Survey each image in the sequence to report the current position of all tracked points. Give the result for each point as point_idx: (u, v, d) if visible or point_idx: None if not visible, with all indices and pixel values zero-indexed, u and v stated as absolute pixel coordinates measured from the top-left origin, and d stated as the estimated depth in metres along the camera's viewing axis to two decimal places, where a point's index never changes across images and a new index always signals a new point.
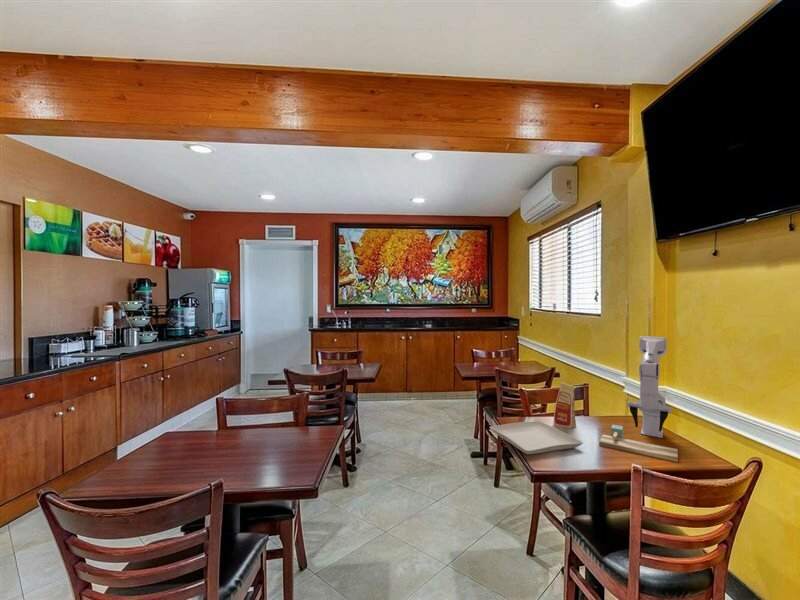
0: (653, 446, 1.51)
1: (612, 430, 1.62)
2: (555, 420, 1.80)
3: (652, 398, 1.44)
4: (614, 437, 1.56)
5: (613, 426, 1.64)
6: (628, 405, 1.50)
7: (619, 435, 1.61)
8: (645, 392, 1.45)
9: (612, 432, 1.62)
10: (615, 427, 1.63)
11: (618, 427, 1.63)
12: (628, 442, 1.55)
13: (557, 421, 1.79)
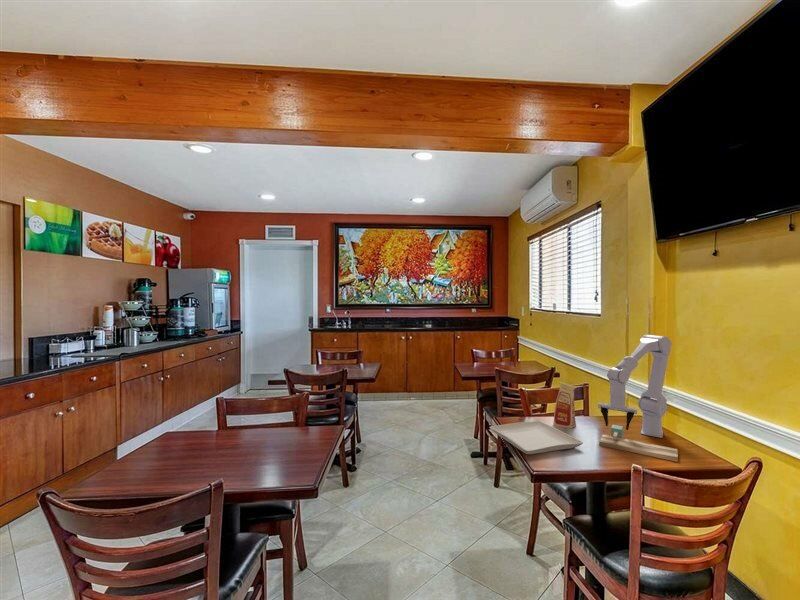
0: (653, 446, 1.51)
1: (612, 430, 1.62)
2: (555, 420, 1.80)
3: (620, 400, 1.60)
4: (614, 437, 1.56)
5: (613, 426, 1.64)
6: (599, 406, 1.66)
7: (619, 435, 1.61)
8: (610, 393, 1.63)
9: (612, 432, 1.62)
10: (615, 427, 1.63)
11: (618, 427, 1.63)
12: (628, 442, 1.55)
13: (557, 421, 1.79)
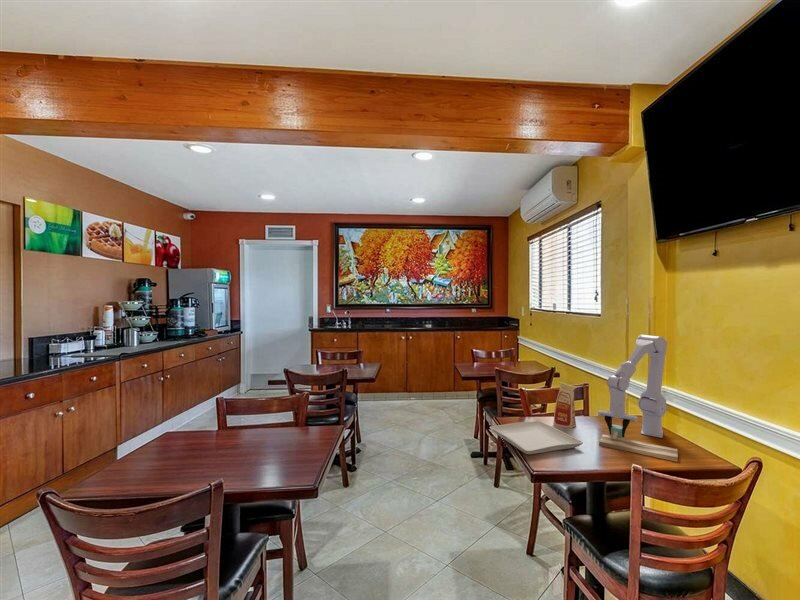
0: (653, 446, 1.51)
1: (612, 430, 1.62)
2: (555, 420, 1.80)
3: (620, 408, 1.60)
4: (614, 437, 1.56)
5: (613, 426, 1.64)
6: (599, 414, 1.66)
7: (619, 434, 1.61)
8: (610, 401, 1.63)
9: (612, 432, 1.62)
10: (615, 427, 1.63)
11: (618, 427, 1.63)
12: (628, 442, 1.55)
13: (557, 421, 1.79)
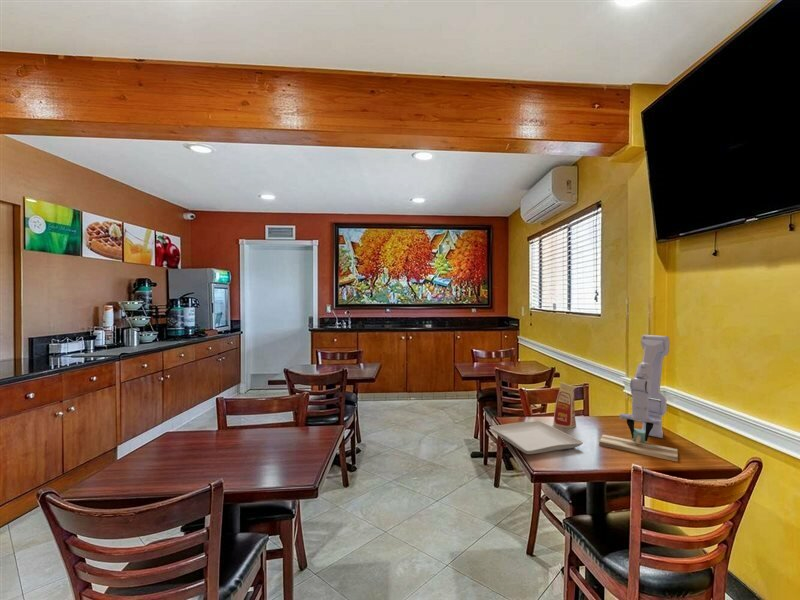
0: (653, 446, 1.51)
1: (635, 434, 1.57)
2: (555, 420, 1.80)
3: (643, 411, 1.56)
4: (637, 441, 1.51)
5: (635, 430, 1.59)
6: (621, 417, 1.62)
7: (643, 439, 1.56)
8: (635, 405, 1.57)
9: (635, 436, 1.57)
10: (638, 431, 1.58)
11: (641, 431, 1.58)
12: (628, 442, 1.55)
13: (557, 421, 1.79)
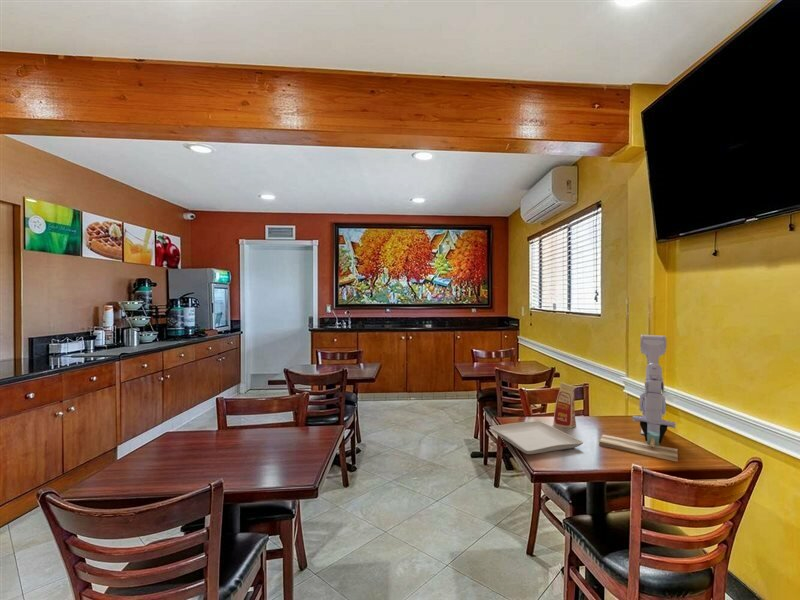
0: None
1: (648, 437, 1.55)
2: (555, 420, 1.80)
3: (657, 413, 1.53)
4: (652, 444, 1.48)
5: (649, 432, 1.56)
6: (634, 419, 1.59)
7: (656, 442, 1.53)
8: (651, 408, 1.54)
9: (648, 439, 1.55)
10: (651, 433, 1.55)
11: (654, 433, 1.55)
12: (628, 442, 1.55)
13: (557, 421, 1.79)
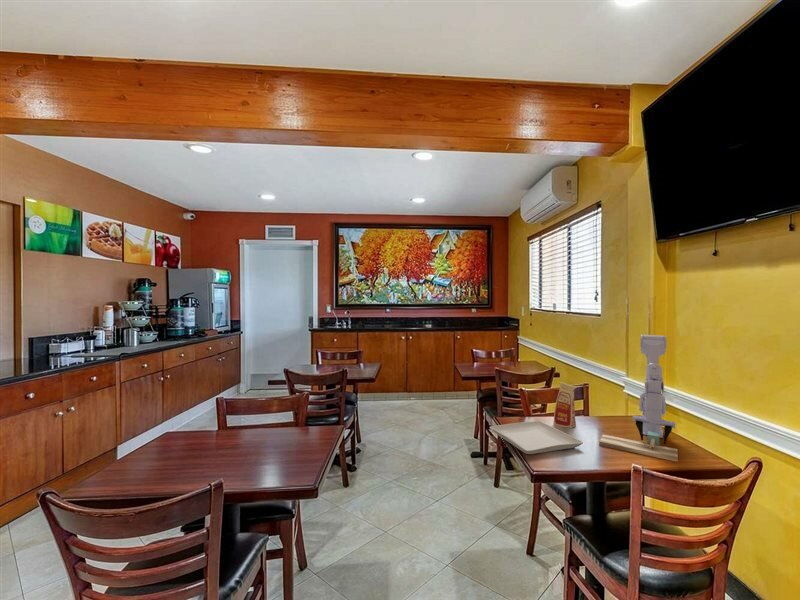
0: None
1: (648, 437, 1.55)
2: (555, 420, 1.80)
3: (657, 413, 1.53)
4: (652, 445, 1.48)
5: (649, 433, 1.56)
6: (634, 419, 1.59)
7: (657, 442, 1.53)
8: (651, 407, 1.54)
9: (648, 439, 1.55)
10: (651, 434, 1.55)
11: (654, 434, 1.55)
12: (628, 442, 1.55)
13: (557, 421, 1.79)
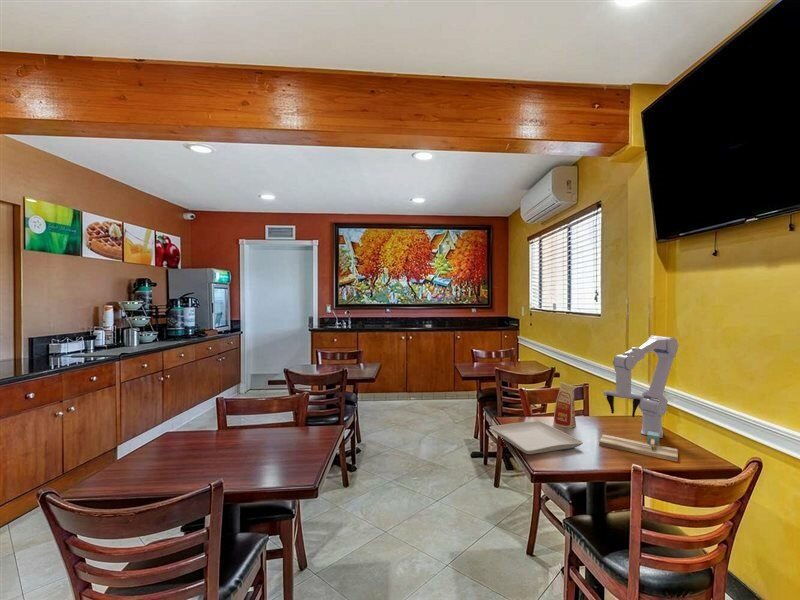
0: None
1: (648, 437, 1.55)
2: (555, 420, 1.80)
3: (626, 387, 1.60)
4: (652, 445, 1.48)
5: (649, 433, 1.56)
6: (605, 394, 1.66)
7: (657, 442, 1.53)
8: (616, 381, 1.63)
9: (648, 439, 1.55)
10: (651, 434, 1.55)
11: (654, 434, 1.55)
12: (628, 442, 1.55)
13: (557, 421, 1.79)
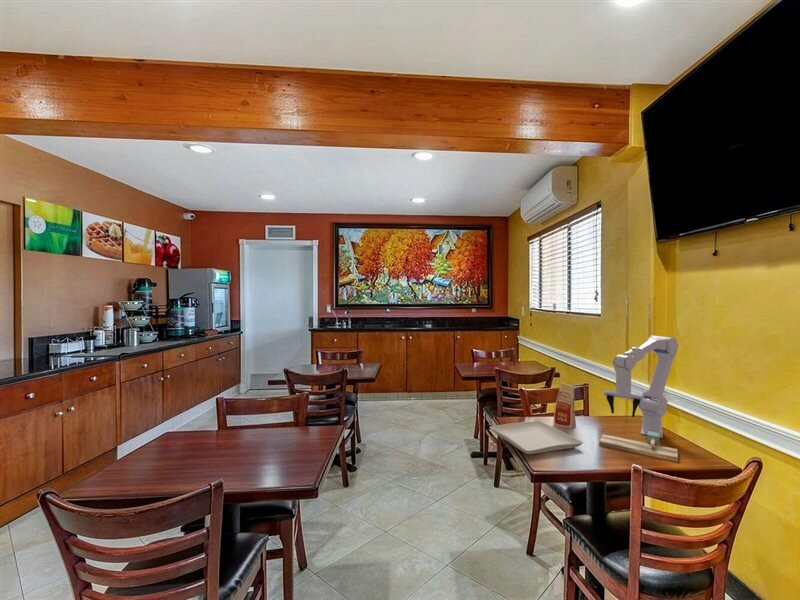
0: None
1: (648, 437, 1.55)
2: (555, 420, 1.80)
3: (626, 387, 1.60)
4: (652, 445, 1.48)
5: (649, 433, 1.56)
6: (605, 394, 1.66)
7: (657, 442, 1.53)
8: (616, 381, 1.63)
9: (648, 439, 1.55)
10: (651, 434, 1.55)
11: (654, 434, 1.55)
12: (628, 442, 1.55)
13: (557, 421, 1.79)
